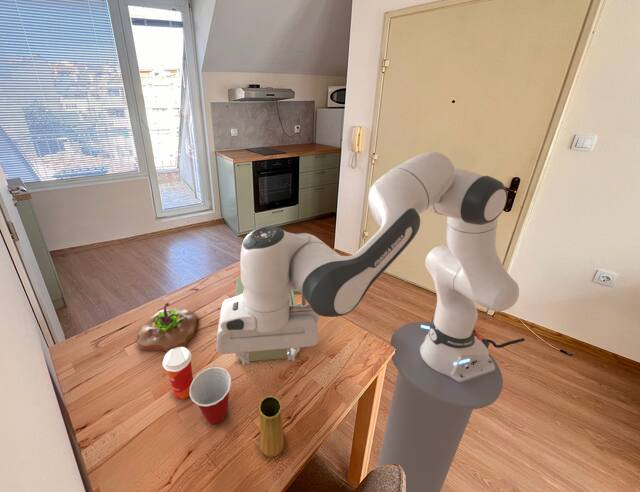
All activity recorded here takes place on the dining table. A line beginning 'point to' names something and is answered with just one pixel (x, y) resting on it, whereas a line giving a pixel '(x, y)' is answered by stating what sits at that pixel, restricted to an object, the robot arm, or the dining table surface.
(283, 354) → the cupboard
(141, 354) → the dining table surface
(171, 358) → the paper cup
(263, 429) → the vase
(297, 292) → the cupboard door
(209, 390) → the plastic cup
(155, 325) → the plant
